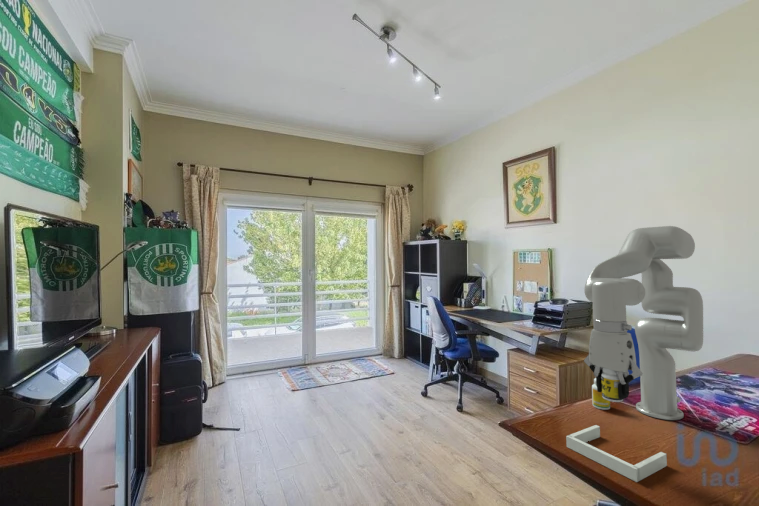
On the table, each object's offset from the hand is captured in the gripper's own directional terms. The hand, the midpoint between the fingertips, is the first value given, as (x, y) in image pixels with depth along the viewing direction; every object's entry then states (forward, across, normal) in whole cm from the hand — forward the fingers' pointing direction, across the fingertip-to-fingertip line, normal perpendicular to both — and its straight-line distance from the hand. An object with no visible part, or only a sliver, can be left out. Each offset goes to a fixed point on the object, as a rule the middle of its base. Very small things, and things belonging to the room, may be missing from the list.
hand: (612, 393), depth 95 cm
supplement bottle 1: (+17, +20, -27) cm, 37 cm away
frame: (+16, 0, 0) cm, 16 cm away
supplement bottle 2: (+2, 0, 0) cm, 2 cm away
